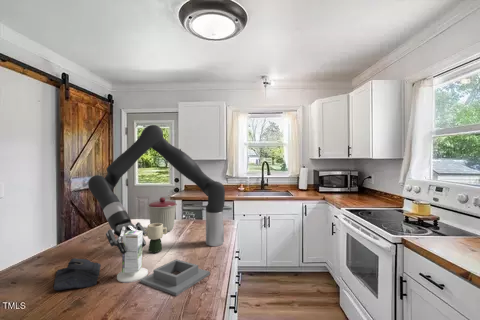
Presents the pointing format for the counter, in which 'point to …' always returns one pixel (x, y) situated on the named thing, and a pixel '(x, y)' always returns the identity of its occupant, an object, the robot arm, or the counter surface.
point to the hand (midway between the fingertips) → (135, 249)
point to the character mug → (155, 236)
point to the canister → (162, 213)
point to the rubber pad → (132, 276)
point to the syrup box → (132, 251)
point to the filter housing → (175, 277)
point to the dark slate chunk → (77, 275)
